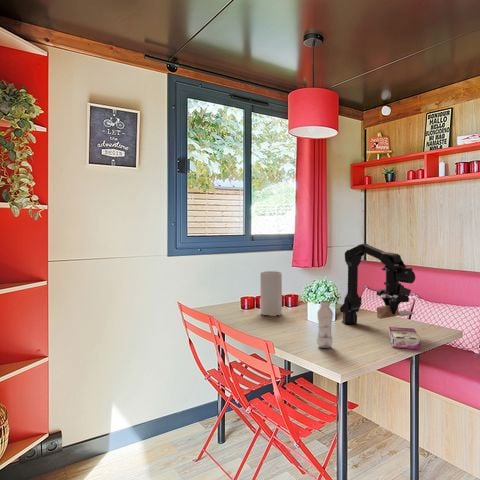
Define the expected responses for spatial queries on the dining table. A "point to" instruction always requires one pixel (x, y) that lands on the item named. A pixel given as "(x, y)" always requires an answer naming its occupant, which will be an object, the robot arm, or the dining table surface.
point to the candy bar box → (404, 338)
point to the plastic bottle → (324, 325)
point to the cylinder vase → (271, 293)
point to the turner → (386, 312)
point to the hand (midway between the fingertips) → (391, 313)
